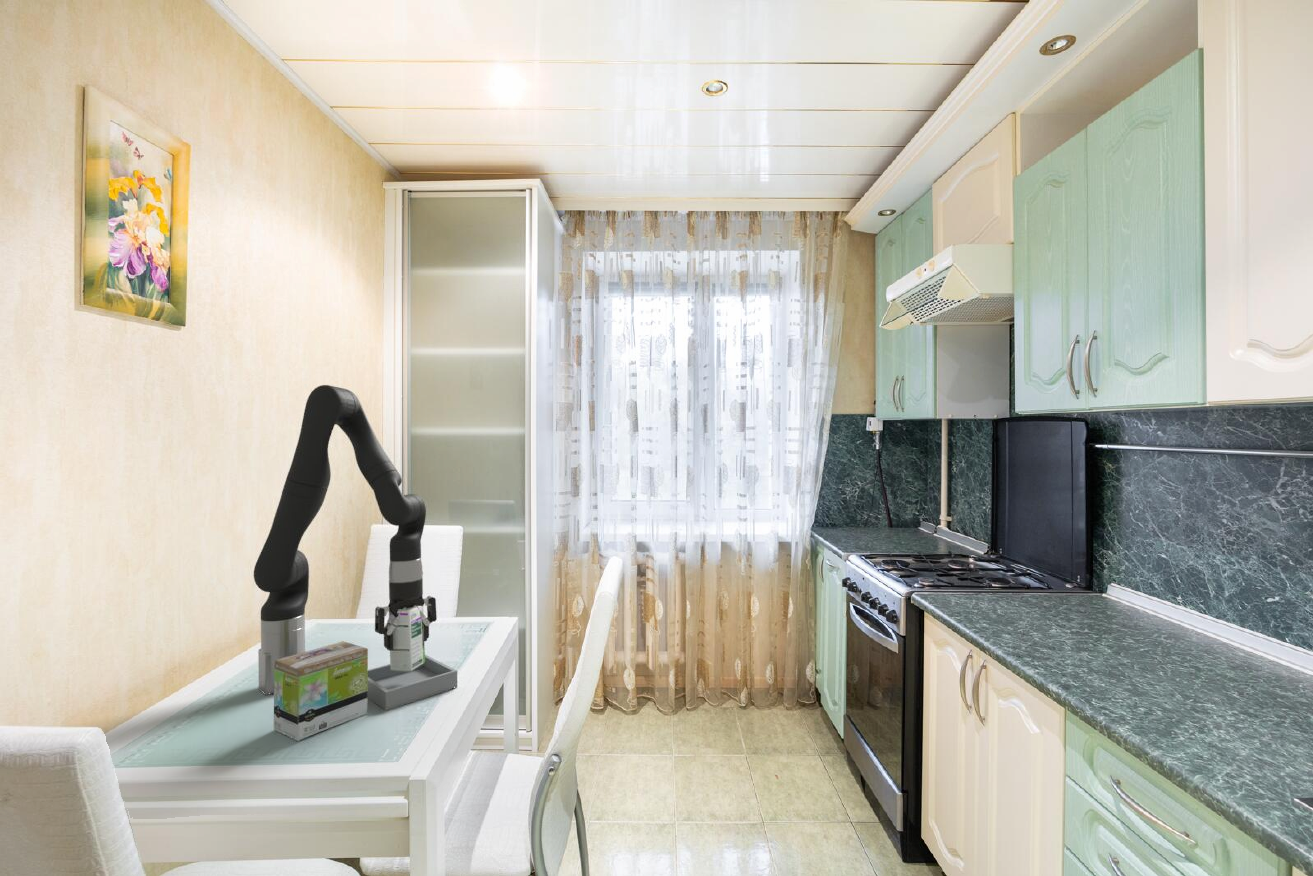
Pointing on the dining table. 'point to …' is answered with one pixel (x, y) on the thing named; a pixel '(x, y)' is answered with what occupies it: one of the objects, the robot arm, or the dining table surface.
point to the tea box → (320, 689)
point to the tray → (409, 683)
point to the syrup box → (408, 640)
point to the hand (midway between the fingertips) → (406, 645)
